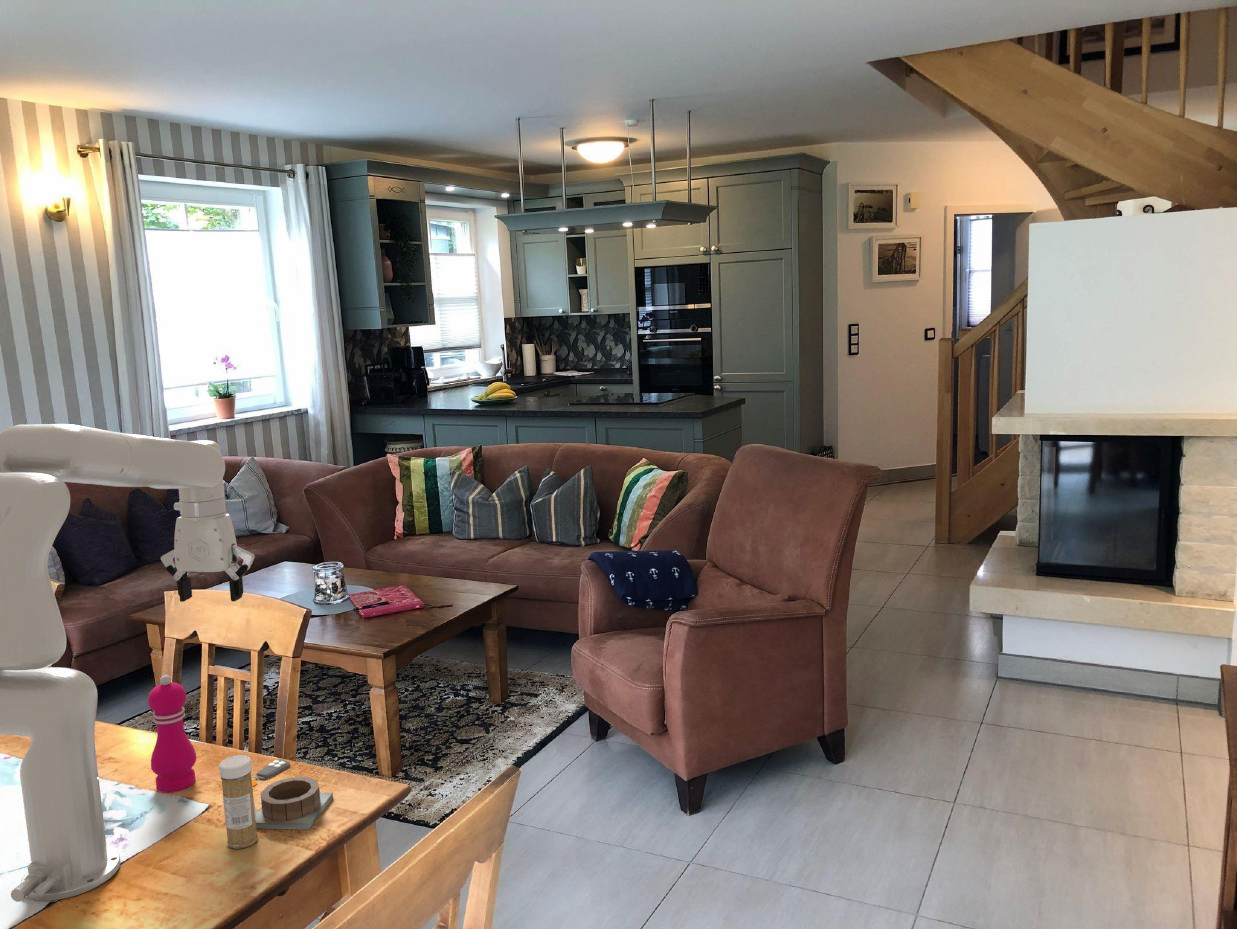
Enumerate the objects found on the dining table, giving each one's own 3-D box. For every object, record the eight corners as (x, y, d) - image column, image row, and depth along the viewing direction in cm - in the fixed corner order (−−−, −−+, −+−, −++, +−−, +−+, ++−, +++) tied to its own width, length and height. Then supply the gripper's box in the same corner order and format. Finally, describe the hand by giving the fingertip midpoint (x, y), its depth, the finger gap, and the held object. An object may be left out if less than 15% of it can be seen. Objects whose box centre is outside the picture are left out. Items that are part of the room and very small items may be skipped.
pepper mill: (206, 774, 170) (196, 668, 167) (184, 794, 162) (173, 683, 160) (168, 773, 170) (157, 667, 167) (144, 793, 163) (132, 683, 160)
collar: (309, 829, 150) (307, 805, 149) (248, 828, 151) (246, 804, 150) (333, 798, 160) (331, 775, 159) (275, 797, 161) (274, 775, 160)
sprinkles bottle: (262, 833, 149) (254, 753, 147) (252, 849, 145) (245, 766, 143) (232, 835, 149) (224, 754, 147) (222, 851, 144) (214, 768, 142)
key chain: (275, 764, 174) (275, 756, 174) (292, 767, 173) (291, 760, 172) (222, 797, 162) (221, 789, 162) (238, 801, 161) (238, 793, 160)
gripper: (146, 513, 170) (155, 605, 172) (239, 512, 168) (247, 605, 171) (168, 505, 177) (177, 594, 179) (258, 504, 176) (265, 593, 178)
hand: (211, 599), depth 175 cm, fingers open, 9 cm apart
